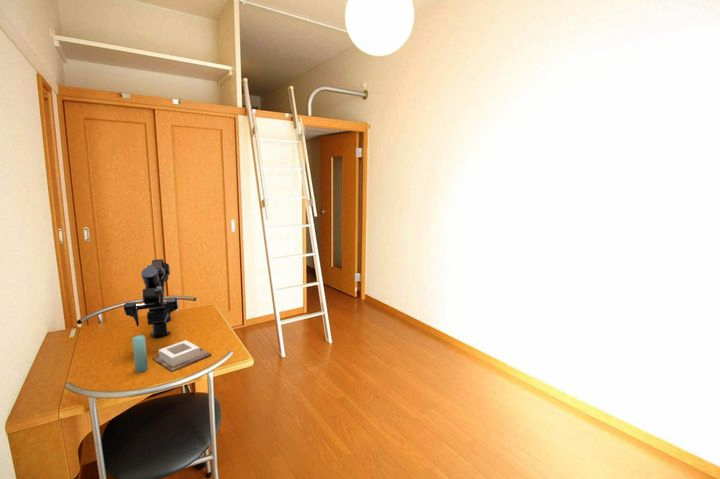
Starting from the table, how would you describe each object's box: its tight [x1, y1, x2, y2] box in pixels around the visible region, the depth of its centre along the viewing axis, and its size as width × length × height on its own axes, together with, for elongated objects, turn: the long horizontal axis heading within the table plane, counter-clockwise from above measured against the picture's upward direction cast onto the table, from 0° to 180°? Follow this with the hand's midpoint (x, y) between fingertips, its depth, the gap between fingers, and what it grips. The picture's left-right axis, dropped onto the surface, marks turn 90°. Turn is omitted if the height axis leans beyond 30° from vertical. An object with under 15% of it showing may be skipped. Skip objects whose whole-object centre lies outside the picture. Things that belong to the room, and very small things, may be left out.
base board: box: [151, 347, 212, 373], centre depth 143 cm, size 16×16×1 cm
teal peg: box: [131, 334, 149, 373], centre depth 133 cm, size 4×4×13 cm
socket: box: [157, 339, 201, 366], centre depth 142 cm, size 11×11×4 cm
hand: (151, 323), depth 140 cm, fingers open, 9 cm apart
